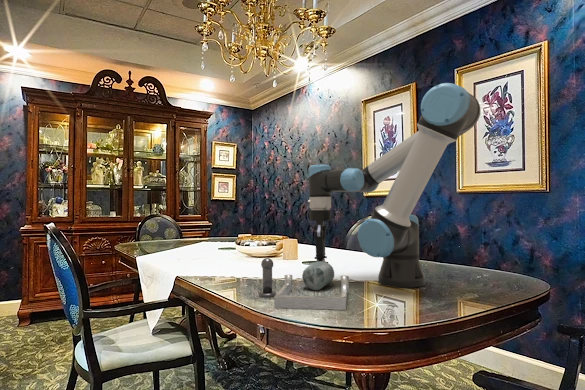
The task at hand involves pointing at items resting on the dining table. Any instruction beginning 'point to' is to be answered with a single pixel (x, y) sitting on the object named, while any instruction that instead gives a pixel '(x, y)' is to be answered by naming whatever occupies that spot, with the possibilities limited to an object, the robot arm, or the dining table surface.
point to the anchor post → (267, 278)
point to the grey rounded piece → (318, 275)
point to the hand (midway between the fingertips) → (321, 277)
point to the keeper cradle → (311, 298)
